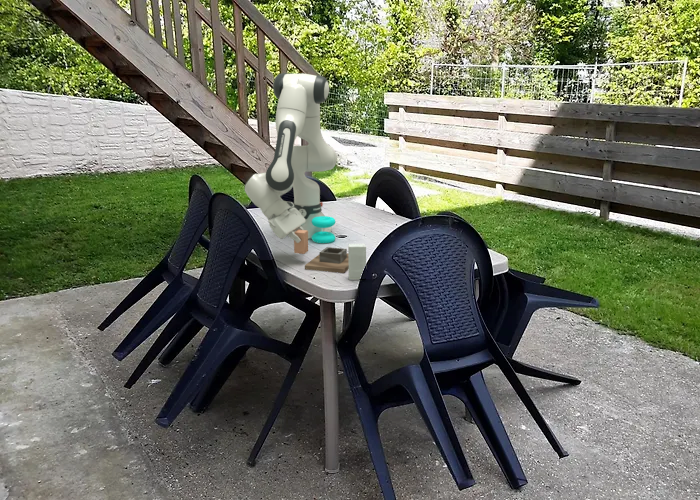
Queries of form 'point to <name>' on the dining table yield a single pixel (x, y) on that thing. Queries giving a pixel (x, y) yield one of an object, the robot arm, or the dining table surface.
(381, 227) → the dining table surface
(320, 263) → the sleeve stand
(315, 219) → the donuts
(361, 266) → the skincare box
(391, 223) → the dining table surface
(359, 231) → the dining table surface
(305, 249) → the terracotta peg
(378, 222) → the dining table surface
